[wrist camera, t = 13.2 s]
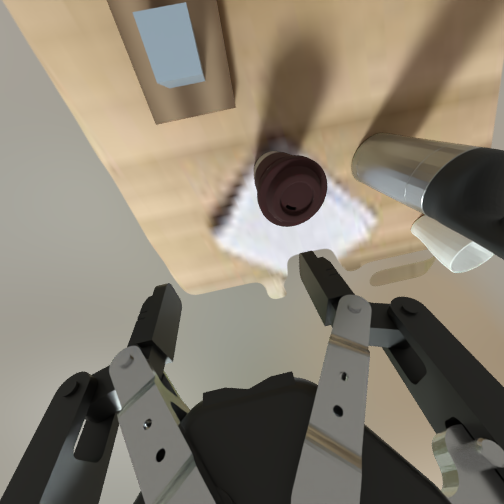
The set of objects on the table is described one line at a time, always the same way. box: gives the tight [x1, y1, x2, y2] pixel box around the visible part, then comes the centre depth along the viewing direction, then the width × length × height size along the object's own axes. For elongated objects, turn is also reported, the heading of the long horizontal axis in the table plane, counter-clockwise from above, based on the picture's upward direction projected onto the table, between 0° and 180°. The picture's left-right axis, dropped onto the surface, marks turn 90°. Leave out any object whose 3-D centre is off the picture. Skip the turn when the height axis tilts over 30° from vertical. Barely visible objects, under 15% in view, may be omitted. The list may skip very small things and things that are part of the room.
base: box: [107, 0, 236, 125], centre depth 26 cm, size 12×12×3 cm
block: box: [133, 2, 205, 88], centre depth 22 cm, size 5×5×7 cm
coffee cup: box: [254, 151, 327, 227], centre depth 32 cm, size 10×10×15 cm
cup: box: [411, 215, 494, 273], centre depth 47 cm, size 10×10×14 cm
